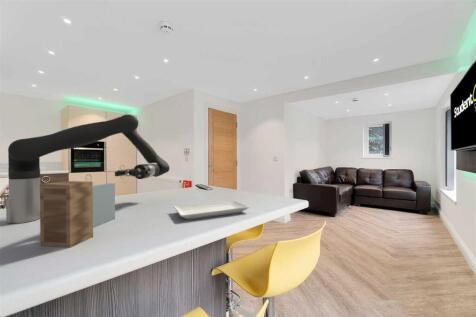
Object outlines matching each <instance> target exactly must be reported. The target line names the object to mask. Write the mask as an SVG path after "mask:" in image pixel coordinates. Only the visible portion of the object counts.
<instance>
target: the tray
mask: <svg viewBox="0 0 476 317" xmlns="http://www.w3.org/2000/svg"><path fill="white" fill-rule="evenodd" d="M173 208H174V209H175V210H176V212H177V214H179V216H180V217H181V218H183V219H186V220H195V219H203V218H209V217H210V218H212V217H217V216H224V215H225V216H226V215H233V214H240V213H241V212H244V211H246V210H248V209H249V208H250V206H248V205H246V204H244V203H242V202H239V201H237V200H235V199H232V200H221V201H219V200H218V201H211V202H203V203H202V202H201V203H193V204H181V205H174V206H173Z"/></svg>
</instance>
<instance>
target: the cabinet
mask: <svg viewBox="0 0 476 317" xmlns="http://www.w3.org/2000/svg"><path fill="white" fill-rule="evenodd" d="M93 183H94V182H93V181H88V180H87V181H80V180H79V181H77V180H72V181H71V180H70V181H69V180H68V181H67V180H66V181H65V180H63V181H55V182H49V183H47V182H46V183H40V219H39V222H40V223H39V226H40V227H39V228H40V230H39V232H40V233H39V236H40V239H39V241H40V246H42V247H43V246H44V247H45V246H46V247H61V248H72V247H74V246H77V245H78V244H80V243H84V242H85V241H87V240H89V239H91V238H92V239H93V237H94V228H93V186H94V185H93Z"/></svg>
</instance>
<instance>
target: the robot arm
mask: <svg viewBox="0 0 476 317" xmlns="http://www.w3.org/2000/svg"><path fill="white" fill-rule="evenodd" d="M138 126H139V120H138V118H137V117H136V116H135V115H133V114H128V113H127V114H123V115H121V116H119V117H115V118H113V119H108V120H103V121H96V122H90V123H84V124H81V125H76V126H72V127H68V128H66V129H63V130H59V131H57V132H53V133H50V134H46V135H41V136H36V137H35V136H34V137H27V138H26V137H25V138H19V139H16V140H13V141H12V142H11V143H10V144H9V145H8V147H7V148H8V149H7V156H8V161H7V162H8V166H7V167H8V170H7V171H8V173H7V174H8V197H7V198H6V199H5V202H6V203H5V204H6V205H5V208H6V209H5V210H6V211H5V212H6V217H5V218H6V221H5V222H6V224H21V223H22V224H23V223H29V222H34V221H38V220H40V184H41V168H40V158H41V157H44V156H46V155H49V154H52V153H55V152H58V151H62V150H68V149H69V150H70V149H74V148H79V147H83V146H87V145H90V144H94V143H97V142H98V141H101V140H104V139H107V138H109V137H111V136H115V135H118V134H122V135H124V136H125V137H126V139H128V140H129V142H130V143H131V144H132V145H133V146H134V147H135V149H137V151H138V152H139V153H140V155H141V156H142V157H143V159H144V160H145V161H146V162H147V163H139V164H137V165H135V166H134V167H133V168H127V169H120V170H116V171H114V176H115V177H123V176H124V177H135V179H137V180H143V179H149V178H151V177H155V178H157V177H160V176H163V175H164V174H166V173H167V174H168V172H169V171H170V165H169V164H168V162H167V161H166V160H164V159H163V158H162V157H160V155H158V153H157V152H156V151H155V149H154V148H153V147H152V146H151V144H150V143H148V142H147V140H145V139H144V138H143V137H142V136H141V134H139V132H138V130H137V129H138Z"/></svg>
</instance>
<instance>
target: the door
mask: <svg viewBox="0 0 476 317" xmlns="http://www.w3.org/2000/svg"><path fill="white" fill-rule="evenodd" d="M115 220H116V182H115V183H114V182H113V183H112V182H107V183H102V184H96V185H95V184H94V185H93V229H95V228H97V227H100V226H102V225H105V224H107V223H109V222H113V221H115Z"/></svg>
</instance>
